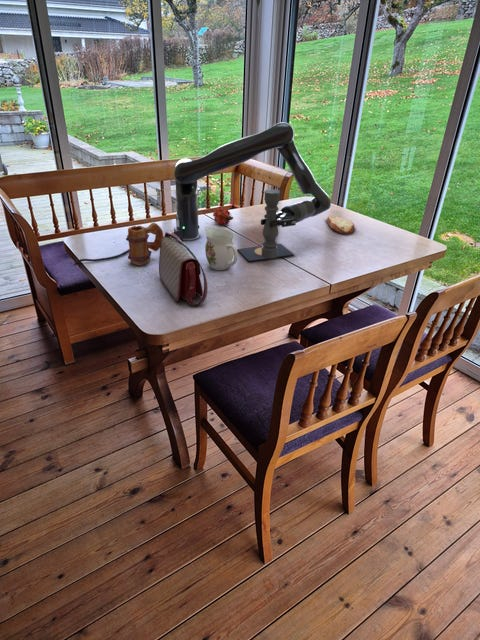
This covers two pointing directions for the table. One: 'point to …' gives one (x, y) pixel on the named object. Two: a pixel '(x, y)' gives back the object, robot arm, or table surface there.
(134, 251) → the mug
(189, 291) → the handbag
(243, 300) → the table surface
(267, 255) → the candle holder
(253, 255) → the placemat
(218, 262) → the pitcher
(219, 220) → the dragon fruit
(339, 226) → the bread slice
